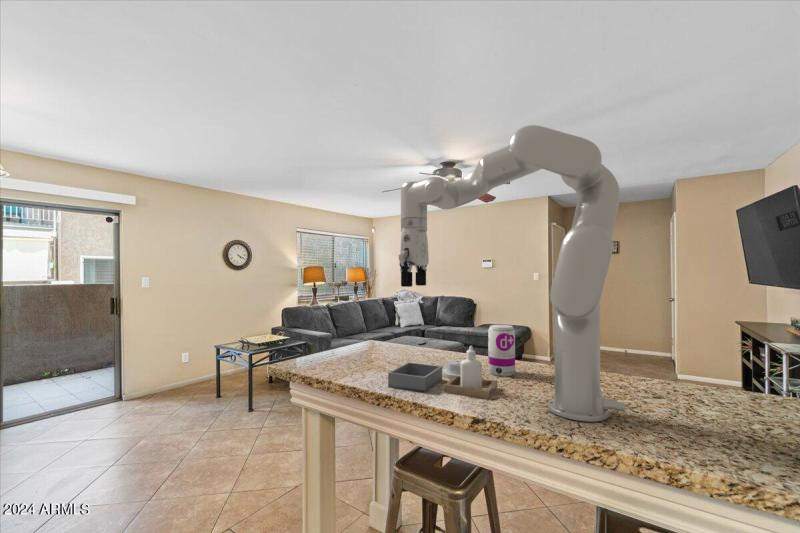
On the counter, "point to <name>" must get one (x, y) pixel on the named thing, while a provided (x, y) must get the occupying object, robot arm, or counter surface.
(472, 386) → the eye dropper bottle
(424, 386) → the bin
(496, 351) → the supplement can
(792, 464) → the counter surface
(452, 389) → the shallow brown tray
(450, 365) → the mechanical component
